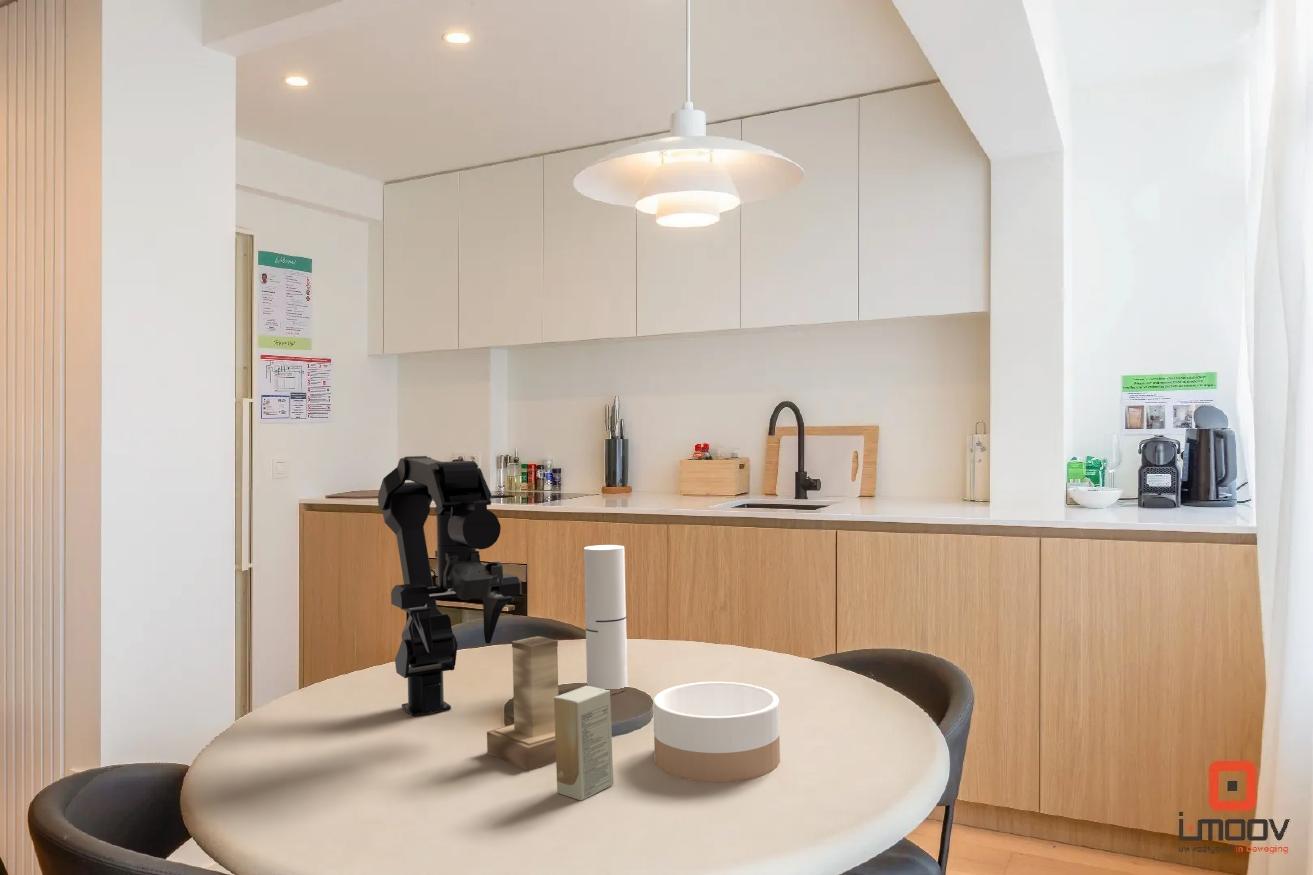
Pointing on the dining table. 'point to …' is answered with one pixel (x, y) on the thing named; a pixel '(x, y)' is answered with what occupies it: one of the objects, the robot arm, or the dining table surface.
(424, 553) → the robot arm
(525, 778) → the dining table surface
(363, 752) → the dining table surface
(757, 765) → the bowl
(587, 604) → the cylindrical container
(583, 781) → the skincare box
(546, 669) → the oak block
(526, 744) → the plinth
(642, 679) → the dining table surface
